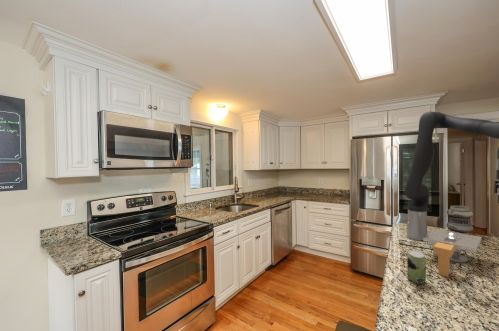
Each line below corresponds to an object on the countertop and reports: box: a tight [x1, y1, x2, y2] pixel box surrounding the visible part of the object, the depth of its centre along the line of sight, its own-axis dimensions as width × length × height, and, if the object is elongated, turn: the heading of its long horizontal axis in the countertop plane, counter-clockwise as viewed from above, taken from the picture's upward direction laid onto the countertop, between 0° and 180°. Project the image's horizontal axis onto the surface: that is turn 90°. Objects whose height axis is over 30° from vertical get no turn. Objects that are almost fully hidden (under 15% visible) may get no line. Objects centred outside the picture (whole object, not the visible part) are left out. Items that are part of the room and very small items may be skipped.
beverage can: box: [406, 250, 427, 284], centre depth 91 cm, size 6×7×12 cm
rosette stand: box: [422, 228, 482, 264], centre depth 107 cm, size 18×20×13 cm
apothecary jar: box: [446, 205, 474, 234], centre depth 137 cm, size 12×12×18 cm
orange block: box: [432, 242, 454, 277], centre depth 96 cm, size 6×7×12 cm
